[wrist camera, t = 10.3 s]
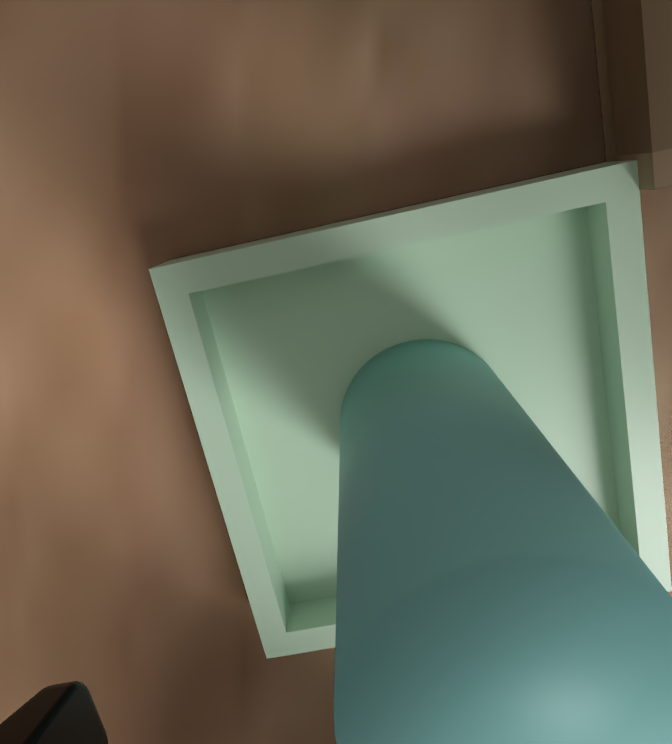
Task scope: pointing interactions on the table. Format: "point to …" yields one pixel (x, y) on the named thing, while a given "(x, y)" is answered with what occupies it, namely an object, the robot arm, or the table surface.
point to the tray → (406, 323)
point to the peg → (482, 574)
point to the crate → (636, 84)
